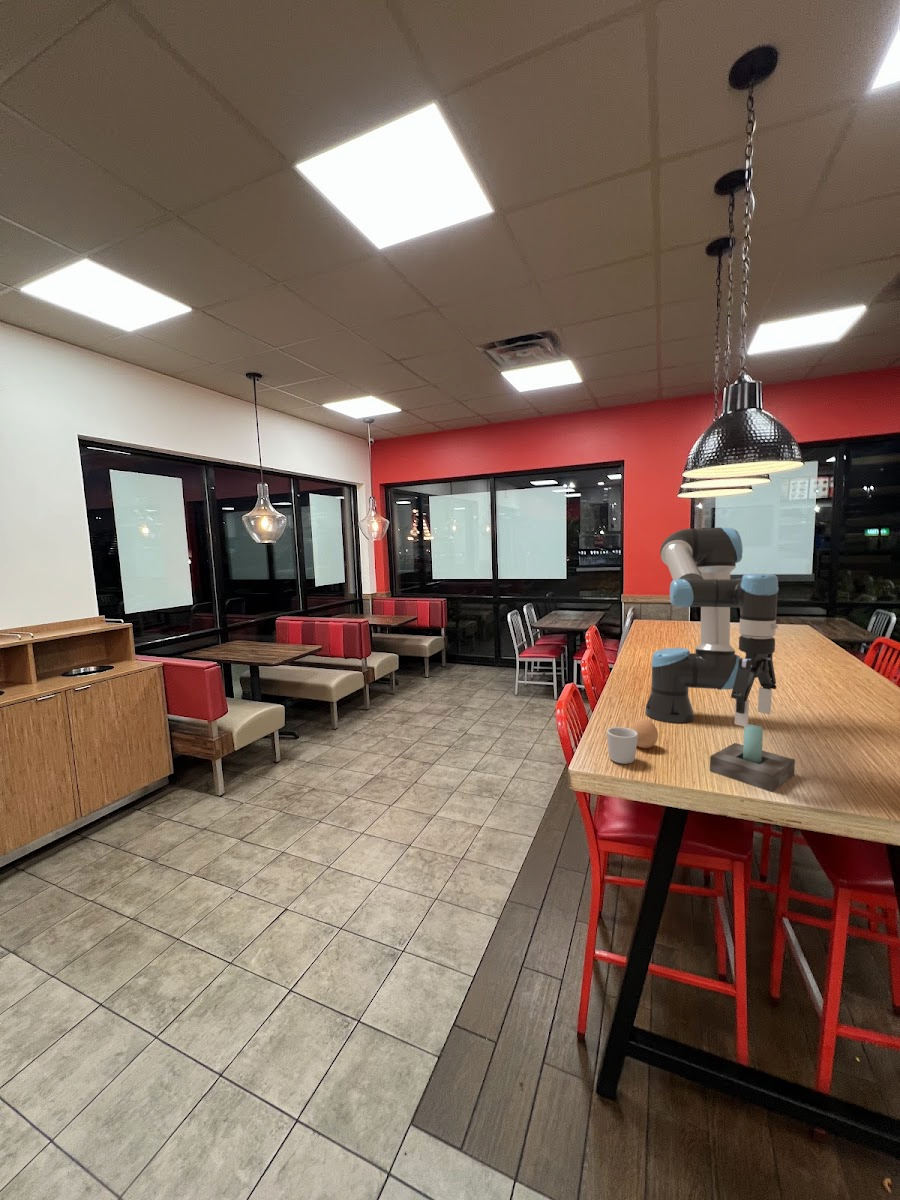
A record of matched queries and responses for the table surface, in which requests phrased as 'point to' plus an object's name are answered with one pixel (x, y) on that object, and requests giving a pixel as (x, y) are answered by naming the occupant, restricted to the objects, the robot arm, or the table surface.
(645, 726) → the egg
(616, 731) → the cup
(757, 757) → the peg
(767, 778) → the socket
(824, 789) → the table surface
